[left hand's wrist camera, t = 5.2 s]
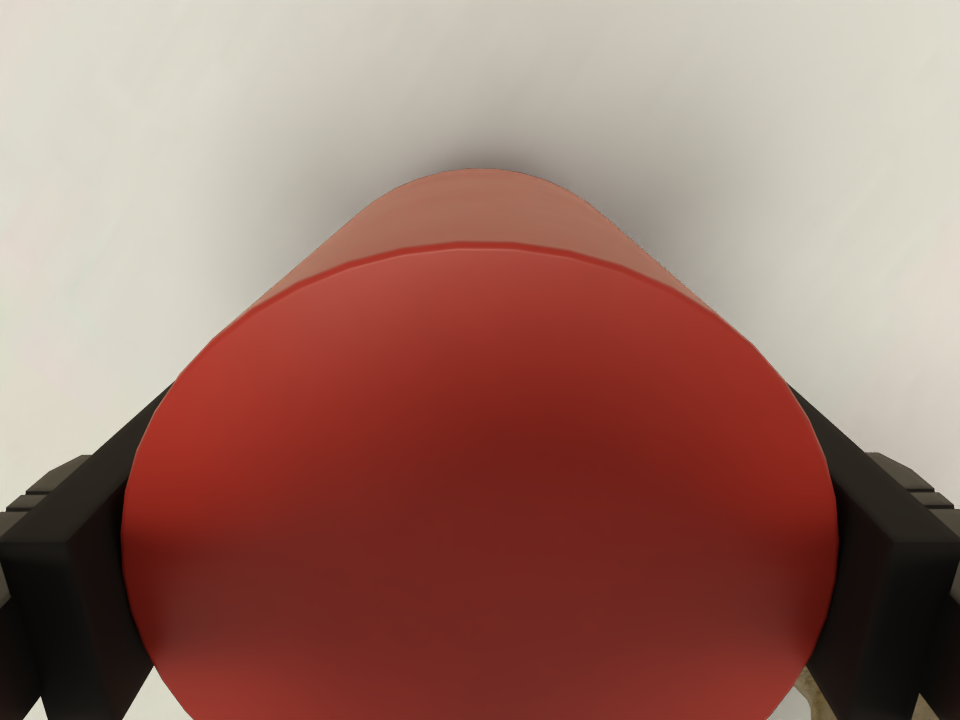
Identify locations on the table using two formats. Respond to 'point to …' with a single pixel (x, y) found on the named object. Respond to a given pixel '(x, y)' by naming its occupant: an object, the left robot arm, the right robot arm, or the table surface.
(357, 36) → the table surface
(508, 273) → the canister
